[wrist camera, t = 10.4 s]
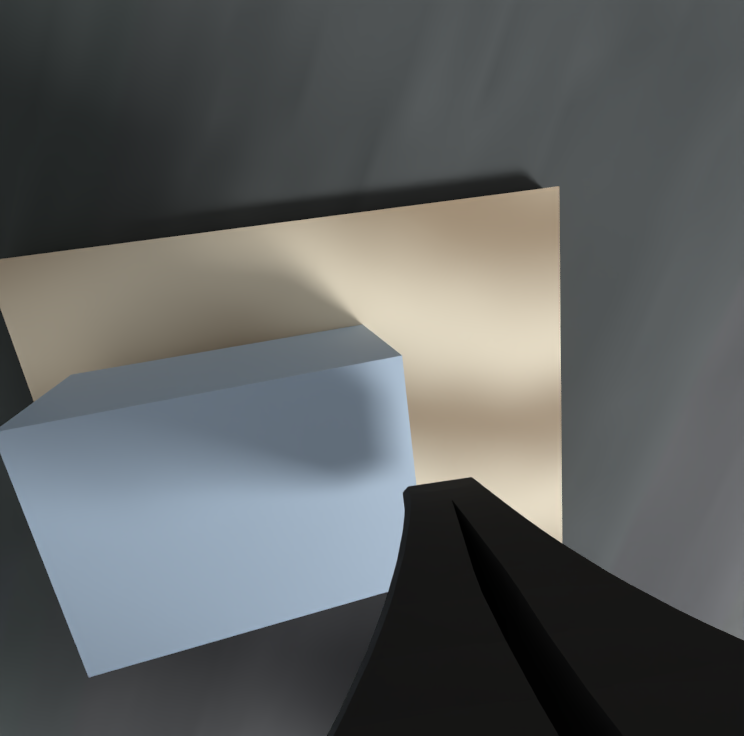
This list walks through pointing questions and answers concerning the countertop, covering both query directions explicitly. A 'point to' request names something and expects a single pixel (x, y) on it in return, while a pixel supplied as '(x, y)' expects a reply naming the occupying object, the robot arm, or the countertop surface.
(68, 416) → the slab
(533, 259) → the board
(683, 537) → the countertop surface
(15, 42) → the countertop surface
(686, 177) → the countertop surface
